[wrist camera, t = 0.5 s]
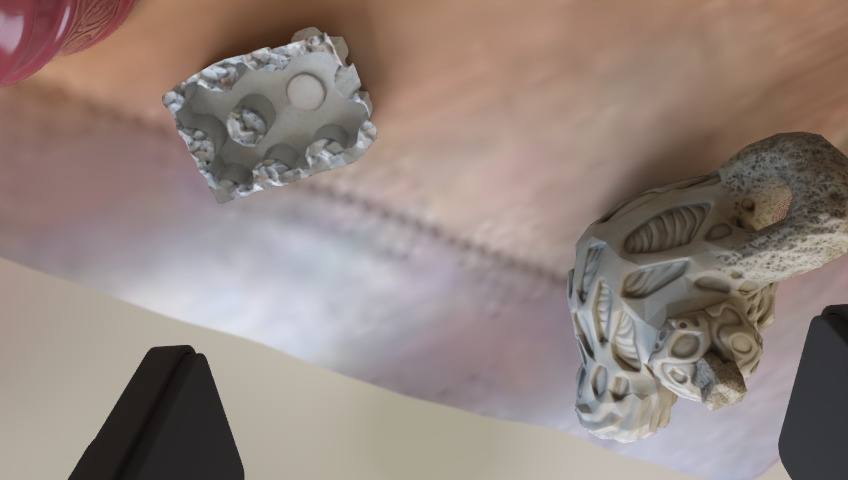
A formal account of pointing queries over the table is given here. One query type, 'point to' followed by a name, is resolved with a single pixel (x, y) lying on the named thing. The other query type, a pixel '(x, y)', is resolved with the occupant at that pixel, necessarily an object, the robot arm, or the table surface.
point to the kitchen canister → (52, 31)
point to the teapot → (697, 280)
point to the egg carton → (274, 115)
